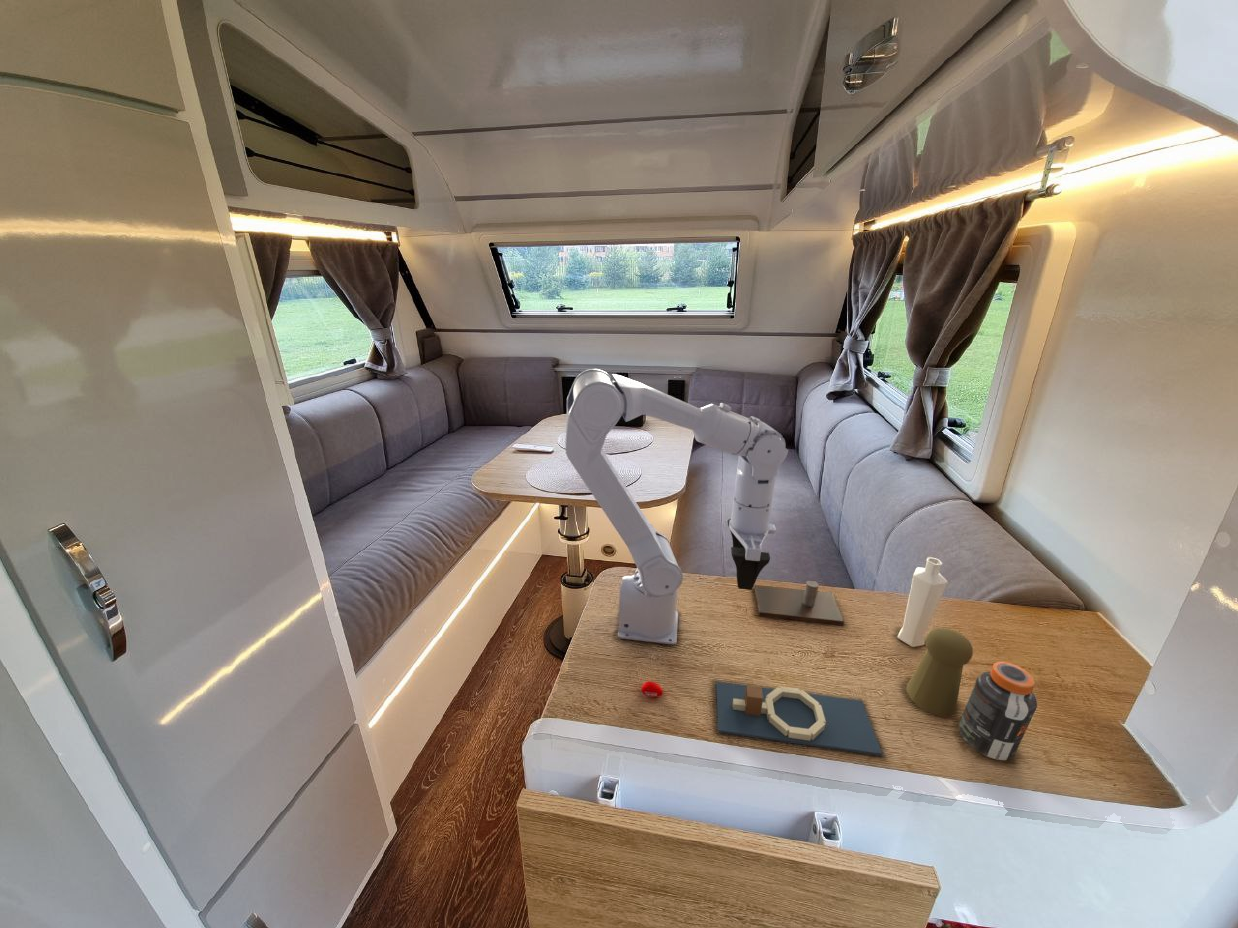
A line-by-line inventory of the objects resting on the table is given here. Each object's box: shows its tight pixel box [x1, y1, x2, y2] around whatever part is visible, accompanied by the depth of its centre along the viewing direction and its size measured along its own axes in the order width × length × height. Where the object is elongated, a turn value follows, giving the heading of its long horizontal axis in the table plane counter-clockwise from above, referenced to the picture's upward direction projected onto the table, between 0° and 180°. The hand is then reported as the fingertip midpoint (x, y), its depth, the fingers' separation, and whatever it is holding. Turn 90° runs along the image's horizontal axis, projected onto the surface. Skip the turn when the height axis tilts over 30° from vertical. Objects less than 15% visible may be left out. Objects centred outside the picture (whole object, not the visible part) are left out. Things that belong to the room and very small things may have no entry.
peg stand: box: [753, 580, 845, 626], centre depth 84 cm, size 14×8×5 cm, turn 81°
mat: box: [715, 681, 884, 757], centre depth 63 cm, size 20×8×1 cm, turn 81°
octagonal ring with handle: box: [732, 684, 826, 741], centre depth 63 cm, size 12×7×3 cm, turn 81°
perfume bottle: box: [897, 556, 949, 648], centre depth 75 cm, size 5×4×15 cm
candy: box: [641, 680, 664, 698], centre depth 66 cm, size 3×2×2 cm, turn 83°
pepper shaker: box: [905, 627, 974, 717], centre depth 65 cm, size 6×6×11 cm
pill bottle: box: [958, 661, 1038, 761], centre depth 59 cm, size 6×6×11 cm
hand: (742, 573), depth 78 cm, fingers open, 7 cm apart
